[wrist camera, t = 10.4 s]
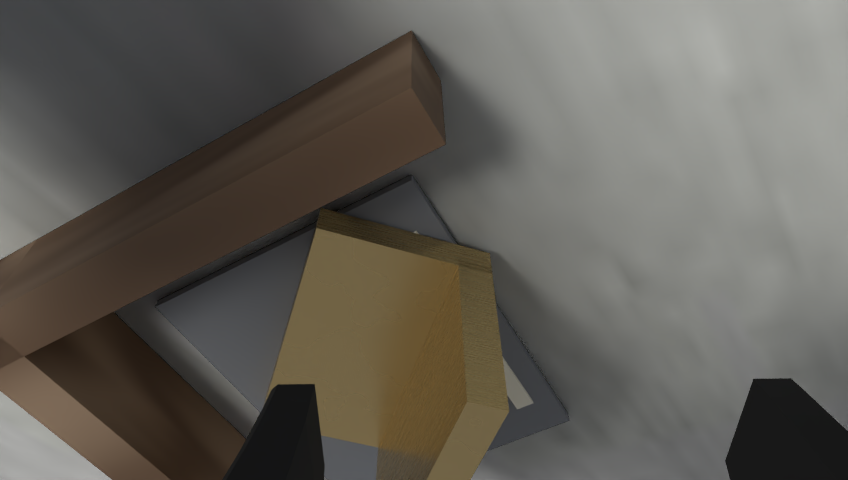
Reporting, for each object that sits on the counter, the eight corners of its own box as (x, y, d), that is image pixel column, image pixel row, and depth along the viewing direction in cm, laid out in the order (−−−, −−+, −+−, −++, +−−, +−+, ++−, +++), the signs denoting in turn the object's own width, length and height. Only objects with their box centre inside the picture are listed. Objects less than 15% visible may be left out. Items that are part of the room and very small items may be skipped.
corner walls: (-1, 260, 22) (-63, 340, 19) (411, 30, 18) (411, 87, 15) (278, 512, 29) (263, 599, 26) (617, 384, 25) (642, 469, 22)
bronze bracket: (407, 430, 26) (403, 597, 21) (264, 399, 25) (225, 565, 20) (489, 253, 21) (509, 411, 17) (320, 207, 21) (288, 360, 16)
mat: (158, 301, 23) (154, 309, 23) (411, 174, 20) (411, 181, 20) (350, 495, 28) (349, 504, 28) (567, 413, 26) (570, 422, 26)
